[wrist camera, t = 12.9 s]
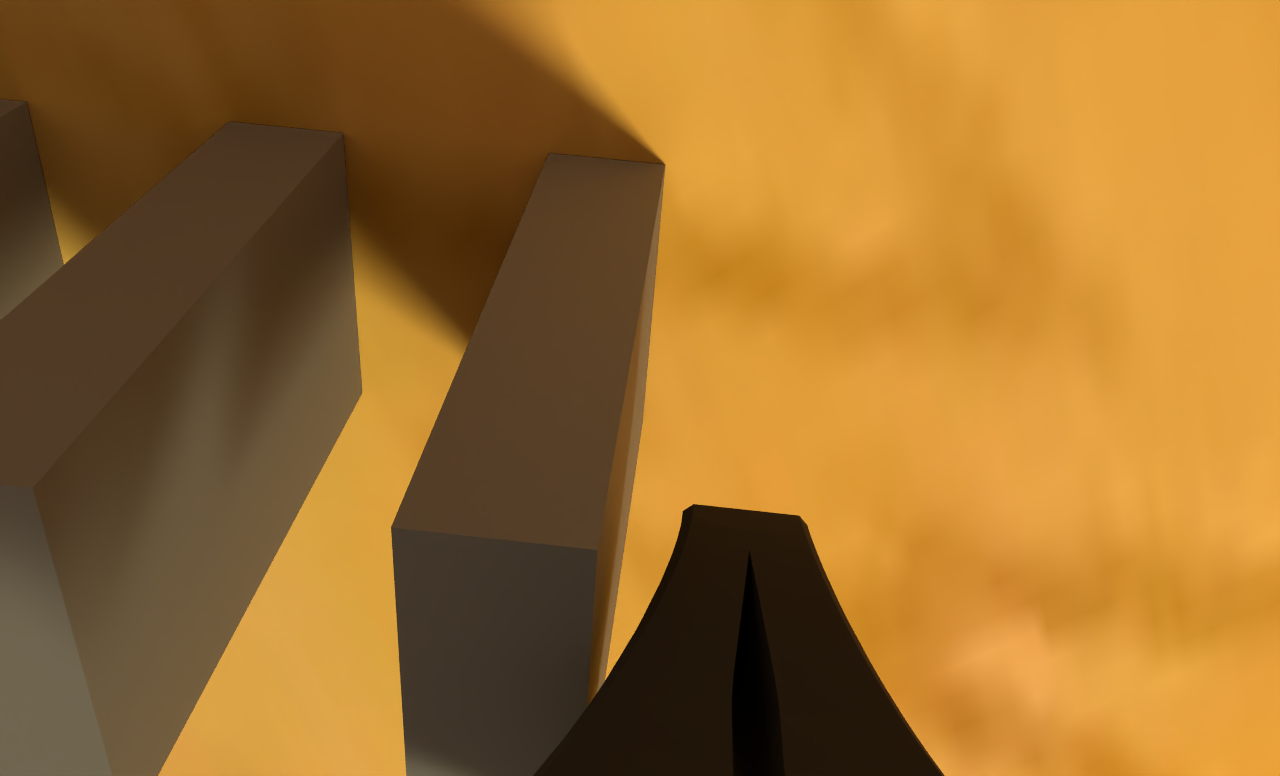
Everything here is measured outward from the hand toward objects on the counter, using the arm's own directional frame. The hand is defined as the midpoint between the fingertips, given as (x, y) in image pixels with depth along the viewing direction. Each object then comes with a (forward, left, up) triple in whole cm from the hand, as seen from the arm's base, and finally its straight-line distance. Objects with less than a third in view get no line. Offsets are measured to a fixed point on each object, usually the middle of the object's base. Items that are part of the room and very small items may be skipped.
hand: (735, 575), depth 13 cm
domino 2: (0, +2, -6) cm, 7 cm away
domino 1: (0, +7, -6) cm, 10 cm away
